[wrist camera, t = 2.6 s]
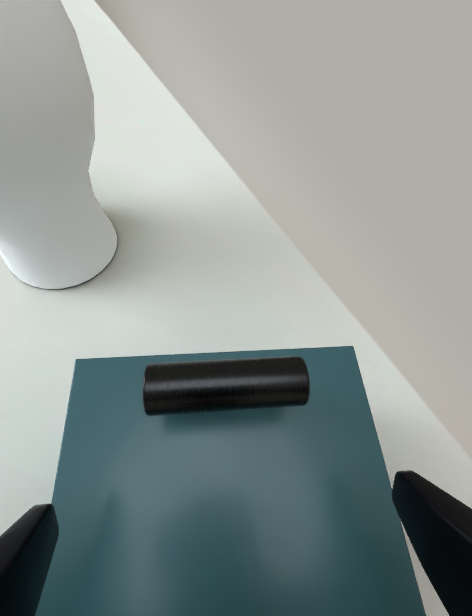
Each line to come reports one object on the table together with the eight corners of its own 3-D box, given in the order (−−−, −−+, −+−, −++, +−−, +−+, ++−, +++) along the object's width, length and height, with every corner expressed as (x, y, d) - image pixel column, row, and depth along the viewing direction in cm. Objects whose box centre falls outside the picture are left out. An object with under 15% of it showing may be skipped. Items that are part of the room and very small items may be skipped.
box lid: (82, 364, 13) (36, 324, 10) (346, 352, 14) (391, 311, 11) (13, 805, 8) (-147, 1072, 4) (442, 725, 9) (591, 884, 6)
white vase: (164, 255, 24) (110, -16, 11) (27, 337, 20) (-323, 71, 7) (92, 178, 27) (-18, -102, 14) (-38, 236, 23) (-359, -76, 10)
